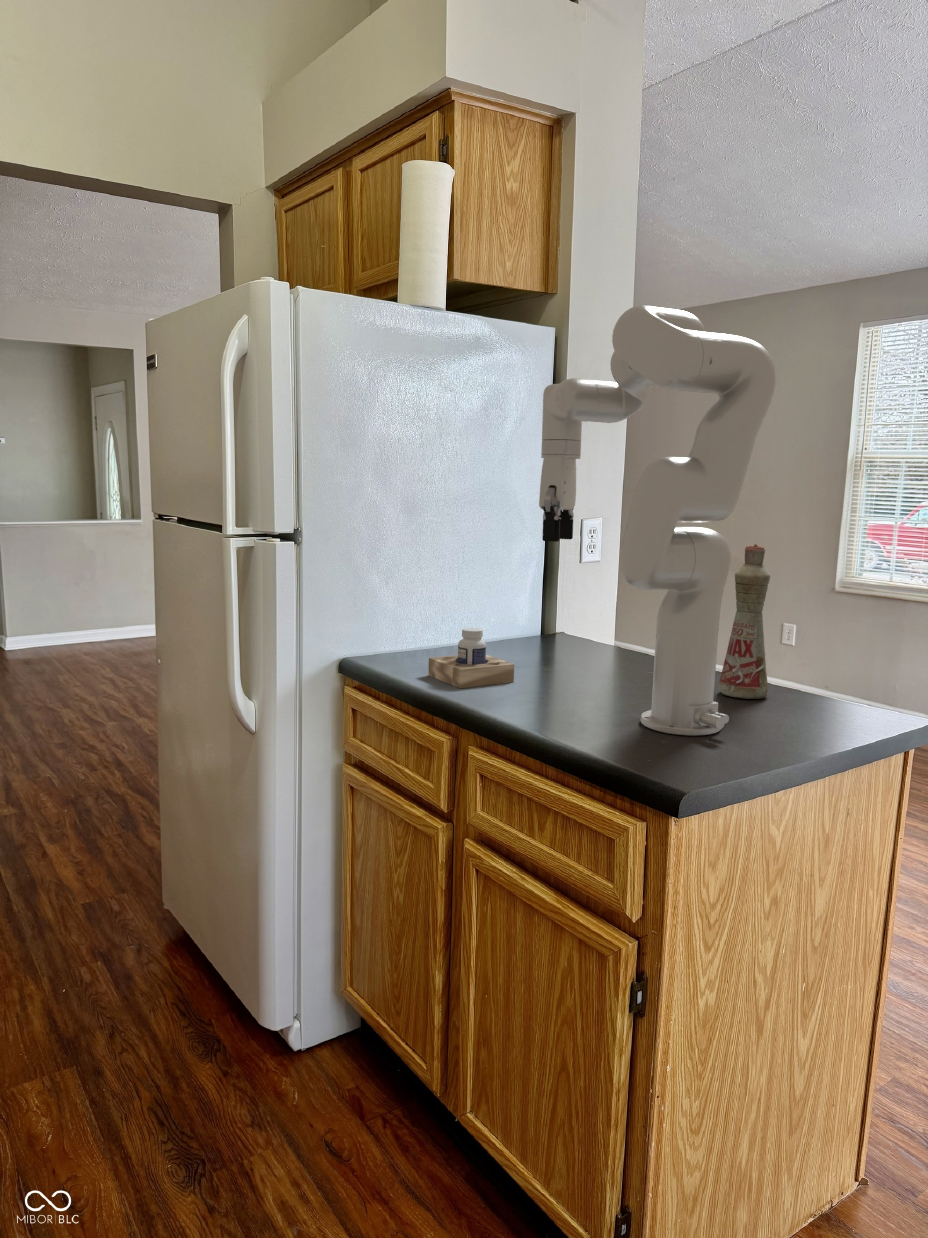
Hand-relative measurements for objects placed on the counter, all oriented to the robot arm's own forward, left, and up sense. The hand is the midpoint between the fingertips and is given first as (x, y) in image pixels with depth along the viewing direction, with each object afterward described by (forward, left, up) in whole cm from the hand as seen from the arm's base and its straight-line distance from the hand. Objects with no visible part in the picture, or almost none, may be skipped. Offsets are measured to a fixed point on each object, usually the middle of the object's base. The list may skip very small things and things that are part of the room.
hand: (557, 540), depth 171 cm
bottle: (-29, -22, -27) cm, 46 cm away
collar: (+4, +17, -27) cm, 32 cm away
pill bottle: (+4, +17, -27) cm, 32 cm away
